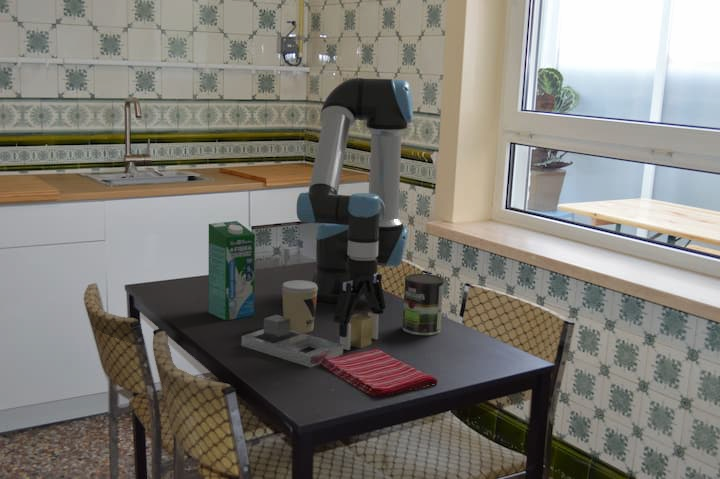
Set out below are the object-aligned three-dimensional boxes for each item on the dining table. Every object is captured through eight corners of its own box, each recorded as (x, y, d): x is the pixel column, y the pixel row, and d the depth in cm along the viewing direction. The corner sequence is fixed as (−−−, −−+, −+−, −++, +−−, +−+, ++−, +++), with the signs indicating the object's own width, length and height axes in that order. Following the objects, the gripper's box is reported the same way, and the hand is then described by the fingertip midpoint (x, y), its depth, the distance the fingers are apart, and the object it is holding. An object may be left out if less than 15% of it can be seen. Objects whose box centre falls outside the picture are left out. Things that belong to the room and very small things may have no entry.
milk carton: (226, 320, 224) (226, 228, 219) (208, 312, 231) (208, 223, 226) (254, 315, 230) (255, 225, 225) (236, 307, 237) (236, 220, 232)
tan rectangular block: (357, 340, 213) (358, 313, 211) (371, 344, 210) (372, 317, 209) (346, 344, 209) (347, 317, 208) (360, 348, 207) (361, 321, 205)
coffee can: (424, 338, 216) (427, 285, 213) (394, 329, 223) (396, 277, 220) (448, 330, 223) (452, 278, 221) (418, 321, 230) (421, 271, 227)
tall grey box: (275, 341, 209) (276, 314, 208) (289, 345, 206) (290, 318, 205) (263, 345, 206) (263, 318, 204) (277, 350, 203) (277, 322, 202)
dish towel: (376, 402, 175) (376, 390, 174) (318, 366, 194) (318, 355, 194) (440, 387, 184) (440, 376, 184) (378, 355, 204) (379, 344, 203)
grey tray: (275, 334, 214) (275, 325, 214) (342, 354, 201) (343, 344, 201) (241, 345, 205) (241, 336, 204) (310, 367, 192) (310, 357, 191)
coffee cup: (311, 335, 215) (312, 290, 212) (276, 332, 216) (277, 287, 214) (320, 325, 224) (321, 281, 221) (286, 321, 225) (287, 278, 223)
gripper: (377, 247, 216) (374, 329, 221) (320, 262, 198) (317, 351, 203) (401, 252, 212) (397, 335, 216) (345, 267, 194) (341, 358, 198)
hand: (359, 343), depth 210 cm, fingers open, 11 cm apart
